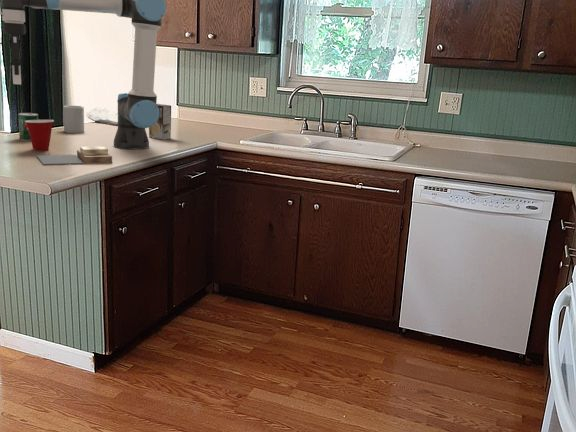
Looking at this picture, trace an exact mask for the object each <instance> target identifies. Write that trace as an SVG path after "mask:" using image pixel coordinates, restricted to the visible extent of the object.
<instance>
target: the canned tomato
mask: <svg viewBox="0 0 576 432" xmlns="http://www.w3.org/2000/svg"><path fill="white" fill-rule="evenodd" d="M17 115H18V128H19V129H18V131H19V133H18V134H19V140H20V141H26V142H27V141H28V142H31V138H30V134H29V129H28V126H27V124H26V122H25V121H27V120H39V114H38V113H35V112H34V113H33V112H20V113H18V114H17Z"/></svg>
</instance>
